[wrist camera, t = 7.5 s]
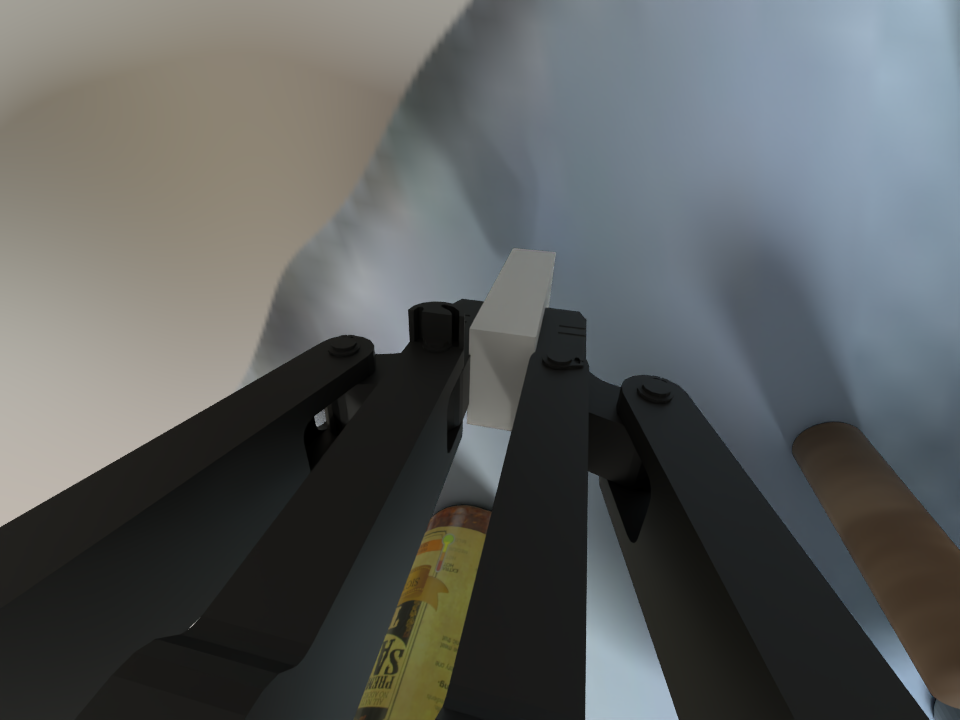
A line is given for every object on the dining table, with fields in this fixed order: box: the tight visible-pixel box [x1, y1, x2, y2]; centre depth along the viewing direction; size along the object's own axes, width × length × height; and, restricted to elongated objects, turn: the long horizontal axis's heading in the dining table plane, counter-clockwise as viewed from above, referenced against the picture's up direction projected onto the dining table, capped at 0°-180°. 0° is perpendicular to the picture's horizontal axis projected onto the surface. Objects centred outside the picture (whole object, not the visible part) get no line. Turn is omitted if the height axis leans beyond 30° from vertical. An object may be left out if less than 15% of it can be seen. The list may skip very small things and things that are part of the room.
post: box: [792, 422, 960, 709], centre depth 15 cm, size 3×3×9 cm
